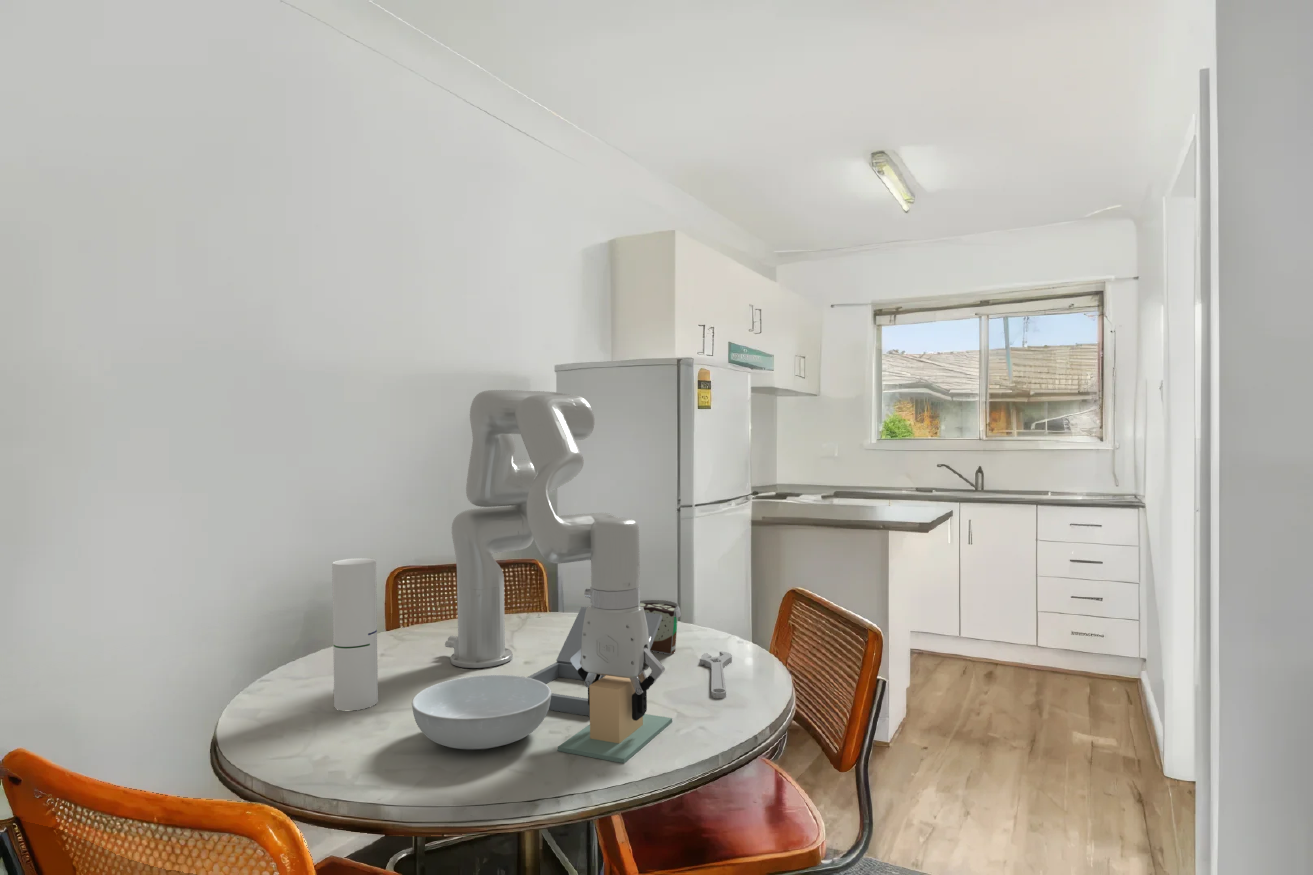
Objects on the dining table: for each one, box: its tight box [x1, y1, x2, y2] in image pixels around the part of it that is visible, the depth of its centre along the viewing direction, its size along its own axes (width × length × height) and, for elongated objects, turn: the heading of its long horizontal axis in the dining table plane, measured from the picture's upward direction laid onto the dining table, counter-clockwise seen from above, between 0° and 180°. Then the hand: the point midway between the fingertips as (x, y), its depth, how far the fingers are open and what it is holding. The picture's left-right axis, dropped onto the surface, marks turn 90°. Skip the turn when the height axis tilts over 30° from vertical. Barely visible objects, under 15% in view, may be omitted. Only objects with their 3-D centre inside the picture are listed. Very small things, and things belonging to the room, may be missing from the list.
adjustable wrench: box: [699, 650, 733, 699], centre depth 147 cm, size 25×6×2 cm, turn 172°
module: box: [589, 675, 643, 743], centre depth 118 cm, size 5×8×8 cm, turn 155°
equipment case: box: [527, 606, 662, 717], centre depth 142 cm, size 18×27×11 cm, turn 155°
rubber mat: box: [557, 713, 673, 764], centre depth 118 cm, size 11×17×1 cm, turn 155°
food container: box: [640, 599, 682, 656], centre depth 166 cm, size 12×6×10 cm, turn 58°
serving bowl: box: [411, 674, 552, 750], centre depth 118 cm, size 21×21×7 cm
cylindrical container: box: [331, 557, 379, 711], centre depth 134 cm, size 7×7×25 cm
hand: (617, 713), depth 118 cm, fingers open, 6 cm apart
